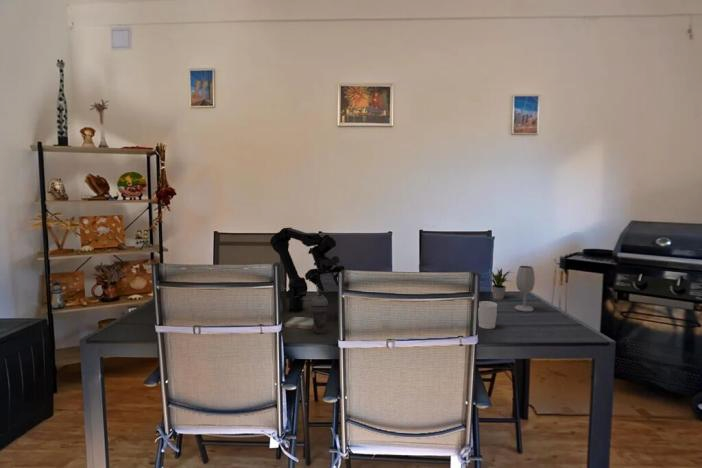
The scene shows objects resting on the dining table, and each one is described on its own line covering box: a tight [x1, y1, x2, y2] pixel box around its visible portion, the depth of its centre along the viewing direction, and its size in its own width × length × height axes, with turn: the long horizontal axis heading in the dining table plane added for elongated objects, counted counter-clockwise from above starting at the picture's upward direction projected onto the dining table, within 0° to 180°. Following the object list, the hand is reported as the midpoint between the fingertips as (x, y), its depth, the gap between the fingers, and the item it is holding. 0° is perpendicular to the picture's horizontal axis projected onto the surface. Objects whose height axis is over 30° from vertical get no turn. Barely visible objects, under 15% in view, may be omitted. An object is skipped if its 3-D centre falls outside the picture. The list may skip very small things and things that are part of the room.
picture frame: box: [284, 316, 314, 330], centre depth 195 cm, size 12×10×2 cm
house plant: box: [488, 267, 515, 300], centre depth 233 cm, size 14×14×16 cm
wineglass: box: [514, 265, 536, 313], centre depth 213 cm, size 9×9×21 cm
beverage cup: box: [310, 284, 329, 334], centre depth 185 cm, size 7×7×20 cm
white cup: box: [477, 300, 498, 330], centre depth 190 cm, size 8×8×10 cm
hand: (331, 289), depth 196 cm, fingers open, 9 cm apart
